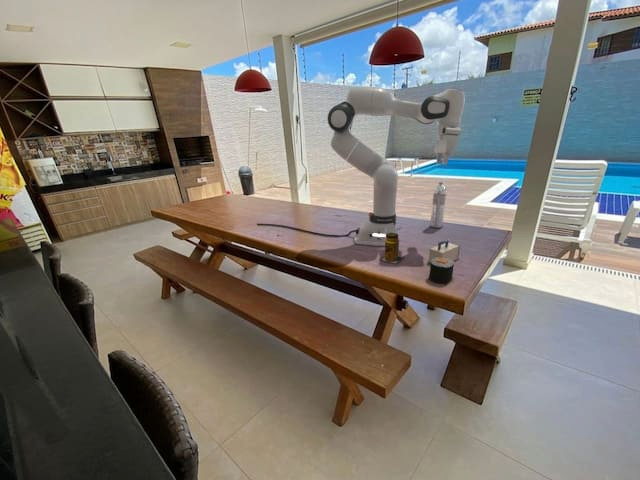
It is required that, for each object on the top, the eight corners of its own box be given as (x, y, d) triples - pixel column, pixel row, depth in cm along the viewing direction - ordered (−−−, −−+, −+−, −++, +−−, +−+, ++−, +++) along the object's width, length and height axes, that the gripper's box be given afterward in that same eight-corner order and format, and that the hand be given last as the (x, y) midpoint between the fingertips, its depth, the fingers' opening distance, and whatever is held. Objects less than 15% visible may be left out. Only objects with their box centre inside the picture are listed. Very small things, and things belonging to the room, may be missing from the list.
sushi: (446, 285, 116) (449, 266, 112) (425, 279, 121) (427, 261, 117) (455, 277, 121) (457, 259, 117) (434, 271, 126) (436, 254, 123)
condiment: (380, 260, 139) (381, 235, 134) (390, 253, 145) (391, 229, 140) (395, 263, 135) (396, 238, 130) (404, 257, 140) (405, 232, 135)
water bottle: (443, 228, 173) (448, 183, 162) (430, 228, 174) (434, 183, 163) (441, 224, 179) (446, 181, 168) (429, 224, 180) (433, 181, 169)
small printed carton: (440, 266, 130) (443, 245, 126) (428, 262, 135) (430, 241, 131) (458, 259, 136) (461, 238, 132) (445, 254, 141) (448, 235, 137)
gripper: (434, 132, 144) (428, 163, 149) (447, 128, 125) (440, 164, 130) (448, 133, 144) (441, 164, 149) (463, 130, 125) (455, 165, 130)
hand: (441, 164), depth 139 cm, fingers open, 8 cm apart
